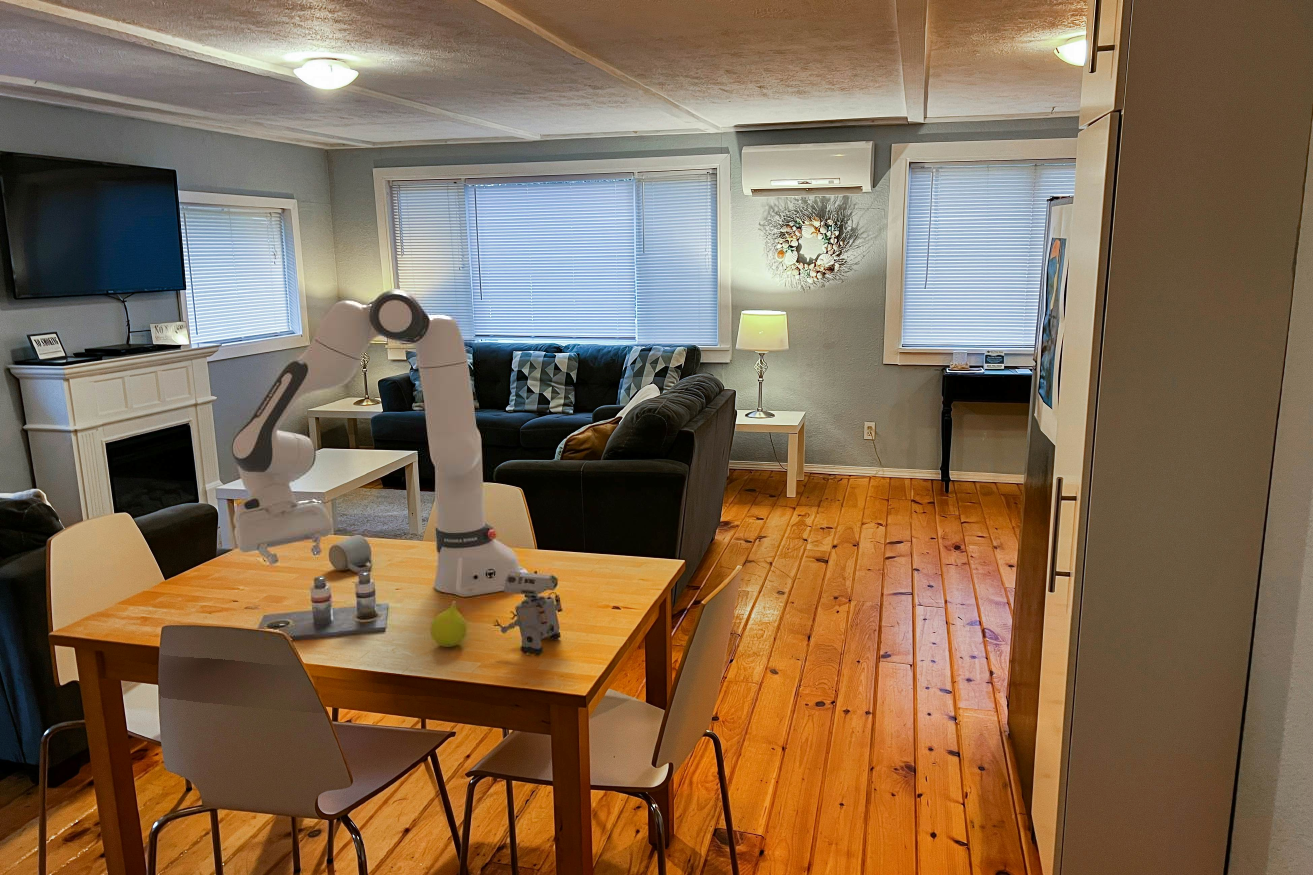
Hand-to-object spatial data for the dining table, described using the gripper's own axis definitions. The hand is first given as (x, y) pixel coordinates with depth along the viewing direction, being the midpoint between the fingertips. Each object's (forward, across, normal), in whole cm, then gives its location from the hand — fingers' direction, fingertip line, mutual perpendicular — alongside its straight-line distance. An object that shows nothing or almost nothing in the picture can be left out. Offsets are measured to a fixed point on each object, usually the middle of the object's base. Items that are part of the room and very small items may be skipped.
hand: (296, 558), depth 201 cm
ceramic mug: (-7, -23, -25) cm, 35 cm away
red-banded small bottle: (+15, -1, -3) cm, 15 cm away
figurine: (+44, -27, +25) cm, 57 cm away
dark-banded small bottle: (+18, -9, +1) cm, 20 cm away
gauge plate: (+15, -1, -3) cm, 16 cm away
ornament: (+36, -15, +17) cm, 42 cm away
